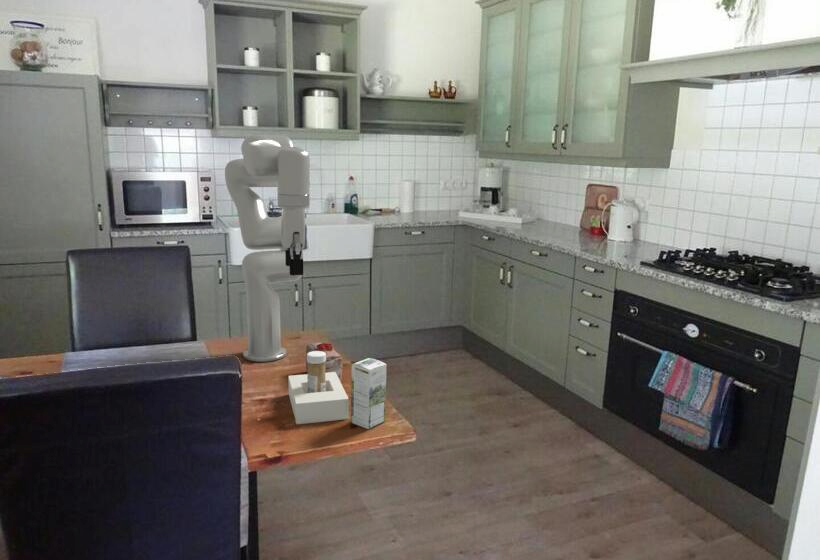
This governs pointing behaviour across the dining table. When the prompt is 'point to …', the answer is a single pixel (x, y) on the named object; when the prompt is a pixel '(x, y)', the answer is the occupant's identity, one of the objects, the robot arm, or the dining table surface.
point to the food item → (327, 357)
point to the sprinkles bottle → (316, 371)
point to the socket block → (318, 400)
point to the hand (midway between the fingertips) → (294, 270)
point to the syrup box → (368, 393)
